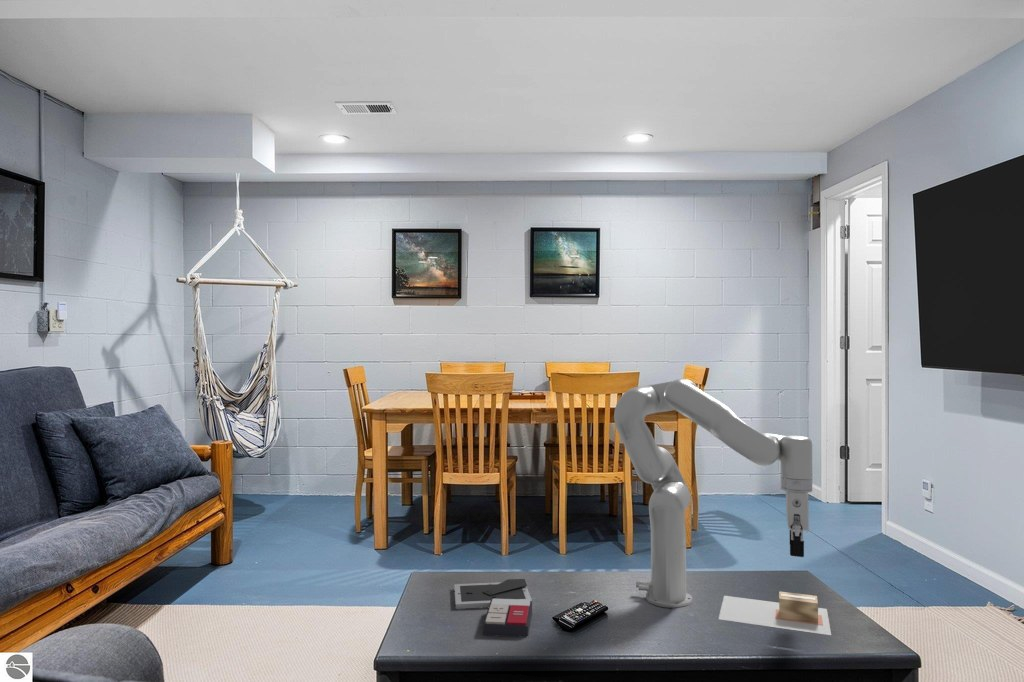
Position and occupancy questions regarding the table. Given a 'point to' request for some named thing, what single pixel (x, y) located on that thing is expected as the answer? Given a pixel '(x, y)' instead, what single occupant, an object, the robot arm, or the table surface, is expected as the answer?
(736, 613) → the mat
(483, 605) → the picture frame
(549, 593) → the table surface
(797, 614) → the card box
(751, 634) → the table surface
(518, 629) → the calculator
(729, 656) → the table surface
